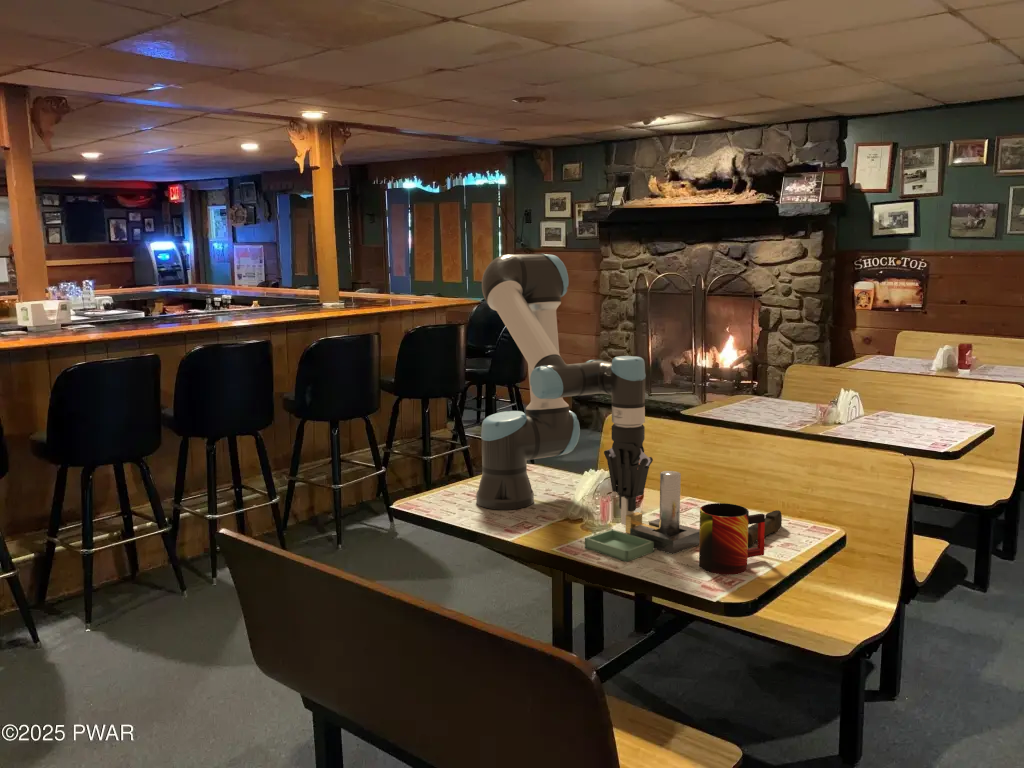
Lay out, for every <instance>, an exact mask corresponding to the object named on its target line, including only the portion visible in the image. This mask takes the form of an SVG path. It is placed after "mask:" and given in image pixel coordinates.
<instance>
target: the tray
mask: <svg viewBox="0 0 1024 768" xmlns="http://www.w3.org/2000/svg"><path fill="white" fill-rule="evenodd" d="M584 548H585V549H587V550H590V551H593V552H596V553H599V554H602V555H605V556H608V557H611V558H614V559H617V560H620V561H622V562H625V563H627V562H630V561H633V560H635V559H638V558H642V557H643V556H646V555H650V554H652V553H654V552H655V549H654V542H653V541H650V540H646V539H643V538H640V537H637V536H633V535H630V533H626V532H622V531H621V530H616V529H614V528H612V529H609V530H606V531H605V530H604V531H602V532H599V533H596V534H593V535H590V536H588V537H585V538H584Z"/></svg>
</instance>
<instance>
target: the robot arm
mask: <svg viewBox="0 0 1024 768" xmlns="http://www.w3.org/2000/svg"><path fill="white" fill-rule="evenodd" d="M568 288H569V275H568V269H567V267H566V265H565V264H564V261H562V260H561V259H560V258H559V256H557V255H554V254H550V253H549V254H547V253H546V254H545V253H530V254H529V253H527V254H526V253H521V254H512V253H511V254H502V255H500V256H497V257H495V258H494V259H493V260H492V261H491V262H490V263H489V264H488V265H487V266H486V268H485V270H484V272H483V274H482V277H481V290H482V291H481V293H482V295H483V298H484V300H485V301H486V303H487V305H488V306H489V308H490V309H491V310H493V311H496V313H497V314H498V315H499V317H500V319H501V320H502V322H503V324H504V326H505V328H507V331H508V332H509V334H510V336H511V337H512V339H513V340H514V341H513V342H515V344H516V346H517V348H518V349H519V351H520V352H521V354H522V355H523V357H524V360H525V361H526V362H527V369H528V382H529V383H528V384H529V393H530V396H529V397H530V402H529V404H528V405H527V406H526V407H525V412H523V411H522V410H510V411H501V412H500V411H499V412H496V413H493V414H490V415H488V416H486V417H485V418H484V419H483V420H482V423H481V433H480V439H481V461H482V463H481V464H482V465H481V468H482V474H481V479H480V481H479V484H478V489H477V491H476V495H475V498H476V499H475V500H476V501H475V502H476V504H477V505H478V506H479V507H481V508H482V507H483V508H486V509H490V510H499V511H500V510H501V511H504V510H506V511H507V510H516V509H517V510H518V509H521V508H526V507H529V506H531V505H532V504H533V503H534V502H535V496H534V494H535V493H534V490H533V488H532V485H531V481H530V478H529V475H528V469H527V468H528V467H527V461H529V460H536V459H544V458H551V457H559V456H562V455H563V456H564V455H567V454H570V453H571V452H573V451H574V449H575V447H576V446H577V444H578V442H579V440H580V433H581V429H580V422H579V419H578V417H577V414H576V413H575V412H573V411H571V410H570V405H569V403H567V402H566V401H565V400H564V398H567V397H576V396H577V397H578V396H587V395H595V394H602V395H603V394H605V395H608V396H611V423H613V424H612V425H611V440H612V441H613V442H612V445H611V448H608V449H605V450H603V454H604V457H605V459H606V461H607V467H608V473H609V478H610V479H609V480H610V484H611V485H610V486H611V490H612V492H614V493H617V495H618V496H619V497H618V498H619V500H618V501H619V503H618V504H619V505H618V507H619V509H620V514H621V515H620V518H621V519H620V525H623V526H626V515H629V514H632V513H635V512H636V509H637V497H642V496H643V495H644V493H645V487H646V483H647V477H648V475H649V470H650V466H651V464H652V463H653V461H654V460H653V457H652V456H648V455H647V454H645V447H644V446H643V444H644V442H645V435H646V434H645V433H646V431H645V430H646V429H645V428H646V427H645V425H644V423H645V422H646V418H645V417H646V416H645V415H646V409H645V408H646V406H645V405H646V377H647V375H646V365H645V363H646V362H645V359H644V358H642V357H641V356H636V355H635V356H633V355H620V356H615V357H613V358H612V360H611V362H610V361H606V360H603V359H590V360H587V361H585V362H581V363H580V362H578V363H570V364H569V363H566V362H565V361H564V359H563V358H562V356H561V355H560V346H559V333H558V318H557V309H558V308H559V306H560V305H561V304H562V297H564V296H565V295H566V294H567V292H568Z"/></svg>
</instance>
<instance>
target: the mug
mask: <svg viewBox="0 0 1024 768" xmlns="http://www.w3.org/2000/svg"><path fill="white" fill-rule="evenodd" d="M749 512H750V511H749V509H748V508H746V507H745V506H742V505H739V504H733V503H723V502H720V503H719V502H718V503H707V504H704V505H701V506H700V508H699V530H700V539H699V545H698V546H699V547H698V548H699V549H698V551H699V553H698V566H699V568H700V569H701V570H702V571H704V572H707V573H710V574H715V575H718V576H719V575H720V576H735V575H740V574H743V573H745V572H747V570H748V558H753V557H760V556H764V555H765V544H766V541H765V537H764V529H765V515H766V514H764V513H756V514H751V515H750V513H749ZM756 523H758V541H757V543H756V544H757V547H752V548H751V547H750V548H748V527H749V525H754V524H756Z"/></svg>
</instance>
